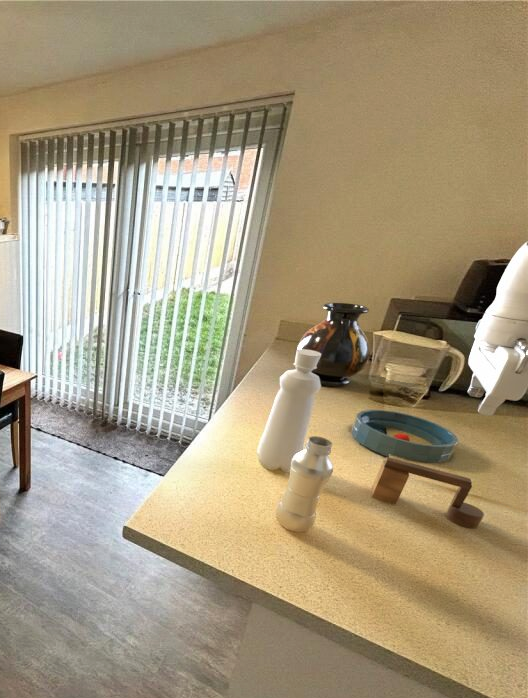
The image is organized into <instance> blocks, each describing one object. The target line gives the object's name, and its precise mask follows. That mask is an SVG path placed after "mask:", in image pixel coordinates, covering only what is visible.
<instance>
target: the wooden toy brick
mask: <svg viewBox="0 0 528 698" xmlns="http://www.w3.org/2000/svg"><path fill="white" fill-rule="evenodd" d="M384 462H385V459H383V460H382V463H381V465H380V468H379V470H378V472H377V474H376V477H375V479H374V481H373V484H372V486H371V498H373V499H376V500H380V501H383V502H386V503H389V504H392V505H397V504H398V501H399V499H400V497H401V494H402V492H403V491H404V489H405V486H406V484H407V481H408V479H409V477H410V473H407V472H404V471H400V470H396V469H393V468H389V467H385V466H384Z"/></svg>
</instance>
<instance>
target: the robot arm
mask: <svg viewBox="0 0 528 698" xmlns="http://www.w3.org/2000/svg"><path fill="white" fill-rule="evenodd" d="M473 338H474V341H473V345H472V347H471V350H470V353H469V356H468V361H467V364H468V366H469V368H470V370H471V371H472V375H471V380H470V385H469V387H468V388H467V389H468V390H467V394H468V395H469V396H470V397H475V398H482V397H483V396H485V397H484V398H483V400H482V401H480V402H479V404H478V406H477V408H476V409H477V412H478V414H480V415H485V416H493V415H494V414H495V413H496V411H497V408H499V407H500V406H501V405H502V404H503V403H504V402H505V401H506V400H507V401H508V400H509V401H514V402H515V401H519V400H521V399H522V398H523V397H524V396H525V394H526V392H527V390H528V240H527V241H526V242H525V243H523V244H522V245H521V246H520V247H519V248H518V250H517V251H516V252H515V253H514V255H513V256H512V258H511V259H510V261H509V262H508V265H506V268H505V269H504V272H503V274H502V276H501V278H500V280H499V282H498V284H497V287H496V295H495V298H494V300H493V301H492V303H491V304H490V305H489V306H488V307H487V308H486V310H485V312H484V313H483V315H482V318H481V319H479V320H478V322H477V324H476V326H475V333H474V335H473ZM484 393H485V395H484Z"/></svg>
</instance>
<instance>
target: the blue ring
mask: <svg viewBox="0 0 528 698" xmlns="http://www.w3.org/2000/svg"><path fill="white" fill-rule="evenodd" d="M387 429H392V430H395V431H399V432H402V433H405V434H406V433H407V434H410V435H413V436H415V437H418V438H420V439H423V440H425V441H426V442H427V443H430V444H426V443H419V442H414V441H411V440H410V441H406V440H402V439H398V438H395V437H394V436H392V435H388V430H387ZM350 436H352V438H353V439H354V440H355V441H356V442H358V443H359V444H360V445H362V446H364V447H365V448H367V449H369V450H371V451H372V452H375V453H377V454H380V455H381V456H384V457H390V456H393V457H397V458H401V459H405V460H407V461H415V462H421V463H441V462H446V461H448V460H449V459H450V458H451V457H452V455H453V453H454V451H455V449H456V447H457V446H458V443H459V438H458V436H457V435H456V434H454V433H453V431H451V429H448V428H446V427H445V426H442V425H440V424H439V423H436V422H434V421H431V420H428V419H426V418H423V417H420V416H415V415H412V414H409V413H404V412H400V411H395V410H387V409H364V410H361V411H359V412H358V413H356V416H355V418H354V420H353V424H352V426H351V429H350Z"/></svg>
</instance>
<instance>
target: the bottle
mask: <svg viewBox="0 0 528 698" xmlns="http://www.w3.org/2000/svg"><path fill="white" fill-rule="evenodd" d="M320 357H321V353H319V352H317V351H313V350H306V349H300V350H297V352H296V358H294V359H295V360H294V362H293V363H292V365H293V366H294V367H295V369H288V370H286V371H285V372H284V373H283V374H282V375H281V376H280V377H279V387H280V389H279V390H278V391H277V393H276V396H275V398H274V401H273V404H272V407H271V410H270V413H269V416H268V418H267V422H266V425H265V428H264V431H263V433H262V435H261V437H260V438H259V443H258V446H257V450H256V455H257V459H258V462H259V464H260V466H262V467H263V468H264V469H266V470H268V471H270V472H271V471H274V470H277V469H280V470H281V471H282V472H283V473H284V474H290V468H291V461H292V458H293V457H294V456H295V455H296V454H297V453H299V452H301V451H302V450H304V446H305V445H304V444H305V441H306V436H307V433H308V429H309V425H310V421H311V417H312V415H313V414H312V413H313V409H314V406H315V395H316V394H317V393H318V392H319V391H320V389H321V388H322V385H321V383H320V379H319V376H317V375H316V374H314V373H311V371H312V370H313V369H316V368H317V367H316V365H317V363H318V361H319V359H320Z"/></svg>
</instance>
